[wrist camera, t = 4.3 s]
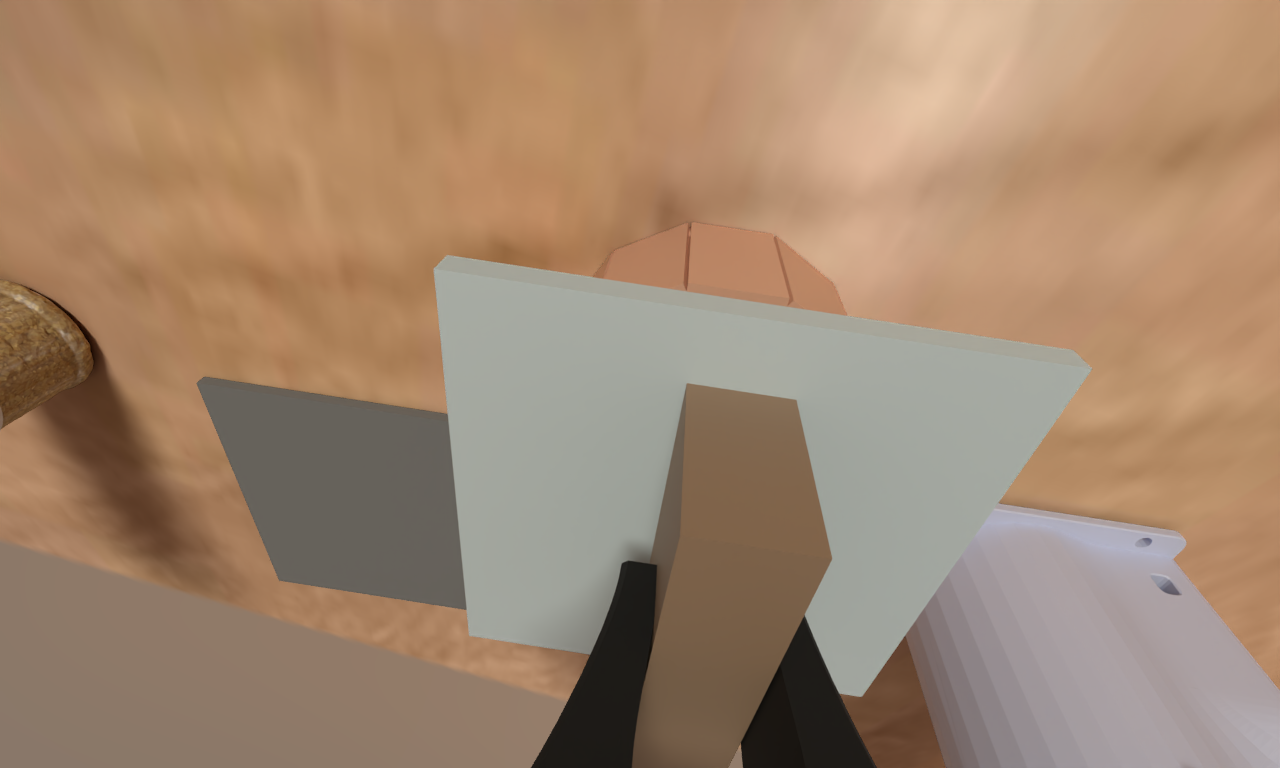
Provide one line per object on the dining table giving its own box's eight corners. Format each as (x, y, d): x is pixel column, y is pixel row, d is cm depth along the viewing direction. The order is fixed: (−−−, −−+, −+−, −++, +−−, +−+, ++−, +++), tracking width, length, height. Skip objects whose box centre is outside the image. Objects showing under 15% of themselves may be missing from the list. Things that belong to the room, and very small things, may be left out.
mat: (522, 425, 21) (519, 432, 21) (523, 611, 28) (521, 618, 28) (204, 376, 21) (196, 382, 21) (284, 573, 28) (279, 580, 28)
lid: (1073, 350, 10) (1264, 535, 6) (857, 675, 16) (897, 855, 13) (447, 255, 10) (314, 390, 7) (476, 616, 16) (416, 779, 13)
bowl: (890, 252, 16) (937, 320, 13) (800, 478, 21) (817, 568, 18) (574, 204, 16) (540, 260, 13) (562, 441, 21) (536, 524, 18)
